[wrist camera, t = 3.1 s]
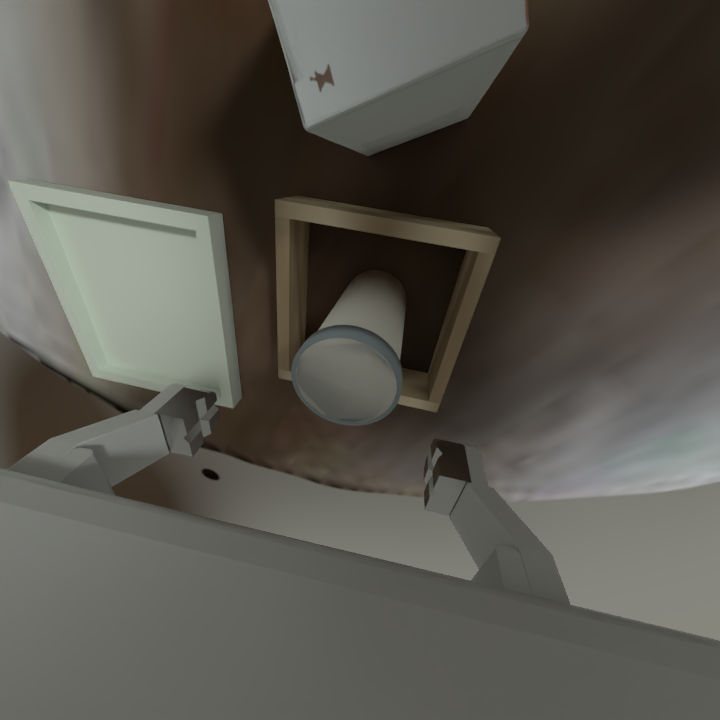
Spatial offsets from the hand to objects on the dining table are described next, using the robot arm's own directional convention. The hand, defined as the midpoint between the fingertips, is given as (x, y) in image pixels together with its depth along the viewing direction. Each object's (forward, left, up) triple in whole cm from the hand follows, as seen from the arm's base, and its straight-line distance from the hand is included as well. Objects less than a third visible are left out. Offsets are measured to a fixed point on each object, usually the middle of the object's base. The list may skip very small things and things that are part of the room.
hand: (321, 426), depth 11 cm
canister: (0, 0, -12) cm, 12 cm away
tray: (+18, +4, -12) cm, 22 cm away
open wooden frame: (0, 0, -12) cm, 12 cm away
